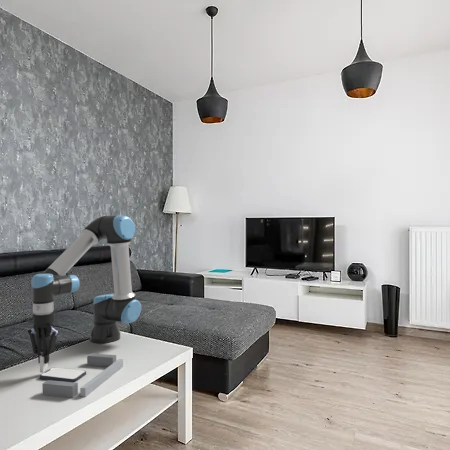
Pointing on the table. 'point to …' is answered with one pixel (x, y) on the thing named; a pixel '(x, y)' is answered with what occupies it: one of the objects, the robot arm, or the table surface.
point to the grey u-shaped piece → (72, 388)
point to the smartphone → (63, 374)
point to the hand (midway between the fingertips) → (43, 371)
